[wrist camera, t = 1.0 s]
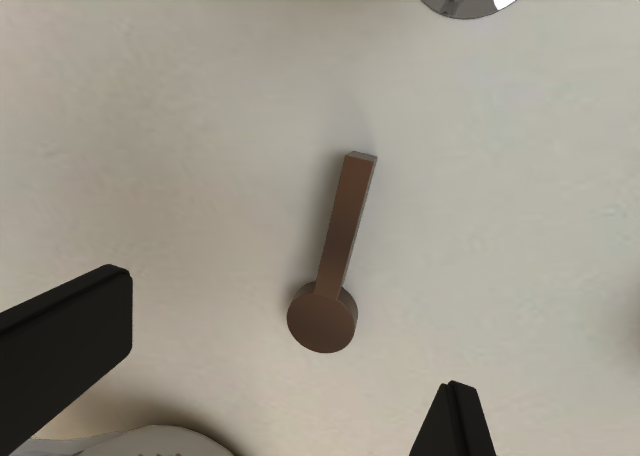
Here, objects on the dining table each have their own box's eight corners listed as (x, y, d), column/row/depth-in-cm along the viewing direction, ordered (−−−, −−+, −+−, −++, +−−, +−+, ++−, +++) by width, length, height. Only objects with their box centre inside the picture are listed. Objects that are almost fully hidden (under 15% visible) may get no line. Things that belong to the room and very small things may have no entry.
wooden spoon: (327, 144, 20) (315, 147, 17) (404, 163, 19) (405, 169, 17) (289, 326, 25) (275, 350, 22) (349, 346, 24) (342, 374, 22)
